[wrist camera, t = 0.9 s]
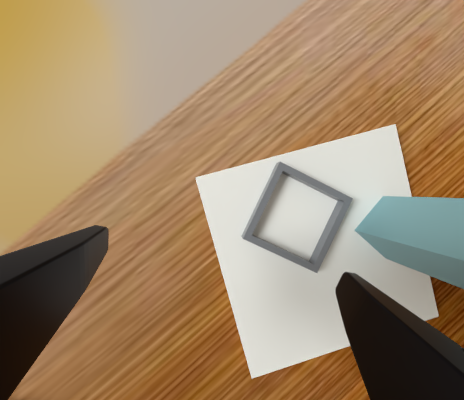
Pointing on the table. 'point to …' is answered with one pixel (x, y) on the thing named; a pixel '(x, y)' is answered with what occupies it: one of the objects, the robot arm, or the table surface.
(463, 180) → the table surface
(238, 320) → the baseplate
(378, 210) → the post
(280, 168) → the socket
